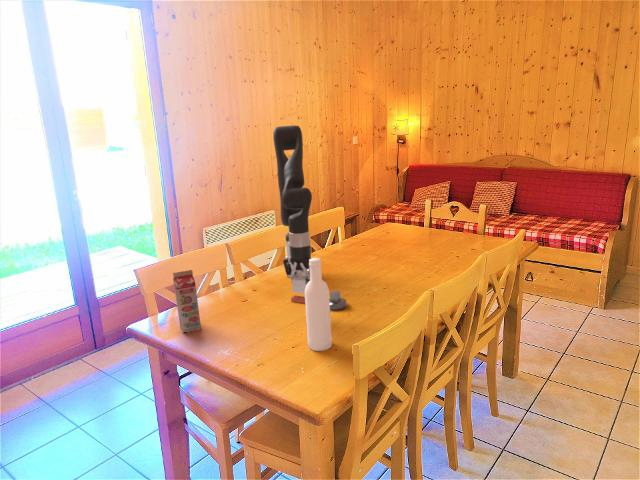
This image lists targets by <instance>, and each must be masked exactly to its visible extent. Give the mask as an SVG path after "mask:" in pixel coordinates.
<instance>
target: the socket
mask: <svg viewBox="0 0 640 480" xmlns="http://www.w3.org/2000/svg"><path fill="white" fill-rule="evenodd" d="M307 283H308V278H307V275H306V274H305V273H304V272H297V273H296V274H295V275H293V276H292V280H291V288H292V290H291V291H292V293H295V294H303V295H305V288H306V285H307Z"/></svg>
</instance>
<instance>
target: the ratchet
mask: <svg viewBox="0 0 640 480" xmlns="http://www.w3.org/2000/svg"><path fill="white" fill-rule="evenodd" d="M329 301H330V312H331V311H333V312H336V311H337V312H339V311H343V310H344V309H346V308H347V306H348V305H347V303H348V302H347V300H346V299H345V298H343V297H341V291H340V290H332V291H330V292H329ZM290 302H291V303H297V304H303V305H305V296H303V295H301V296H300V295H293V296H292V297H291V301H290Z"/></svg>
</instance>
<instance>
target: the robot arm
mask: <svg viewBox="0 0 640 480" xmlns="http://www.w3.org/2000/svg"><path fill="white" fill-rule="evenodd" d="M272 136H273V137H272V139H273V144H274V150H275V157H276V164H277V165H276V167H277V181H278V189H279V191H278V192H279V199H280V203H279V204H280V220H281V223H282V225H283V226H285V227H288V232H287V233H286V234H285V245H286V256H285V259H283V267H284V271H285V275H286V277H289V278H291V281H292V276H293V275H295V274H296V273H297V272H304V273H305V274H306V275H307V278H308V282H309V281H310V266H309V260H310V259H311V258H312V256H311V255H312V250H311V248H312V247H311V236H310V232H309V231H310V229H309V227H310V226H309V214H310V208H311V204H312V198H313V195H312V192H311V189H309V188H307V187H304V186H305V175H304V169H303V168H304V167H303V158H304V157H303V156H304V149H303V145H304V144H303V141H304V140H303V132H302V129H301V127H300V126H299V125H284V126H283V125H281V126H276V127H275V128H274V129H273V135H272ZM292 150H293V152H292V154H291V156H290V157H288V156H287V155H286V153H285V151H292Z"/></svg>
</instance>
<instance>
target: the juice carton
mask: <svg viewBox="0 0 640 480" xmlns="http://www.w3.org/2000/svg"><path fill="white" fill-rule="evenodd" d="M193 274H194V272H193V270H192V269H190V270H189V269H188V270H183V271H178V272H177V271H176V272H173V273H172V275H173V279H172V280H173V287H174V288H173V289H174V293H175V302H176V308H177V315H178V321H179V323H178V324H179V328H180V327H181V328H180V331H181V333H182V332H183V333H182V334H185V333H184V332H187V333H191V332H190V331H192V332H195V330H196V331H199V330H202V325H201V323H202V322H201V317H200V309H199V302H198V296H197V295H198V294H197V293H198V292H197V286H196V281H195V277H194V275H193Z"/></svg>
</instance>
